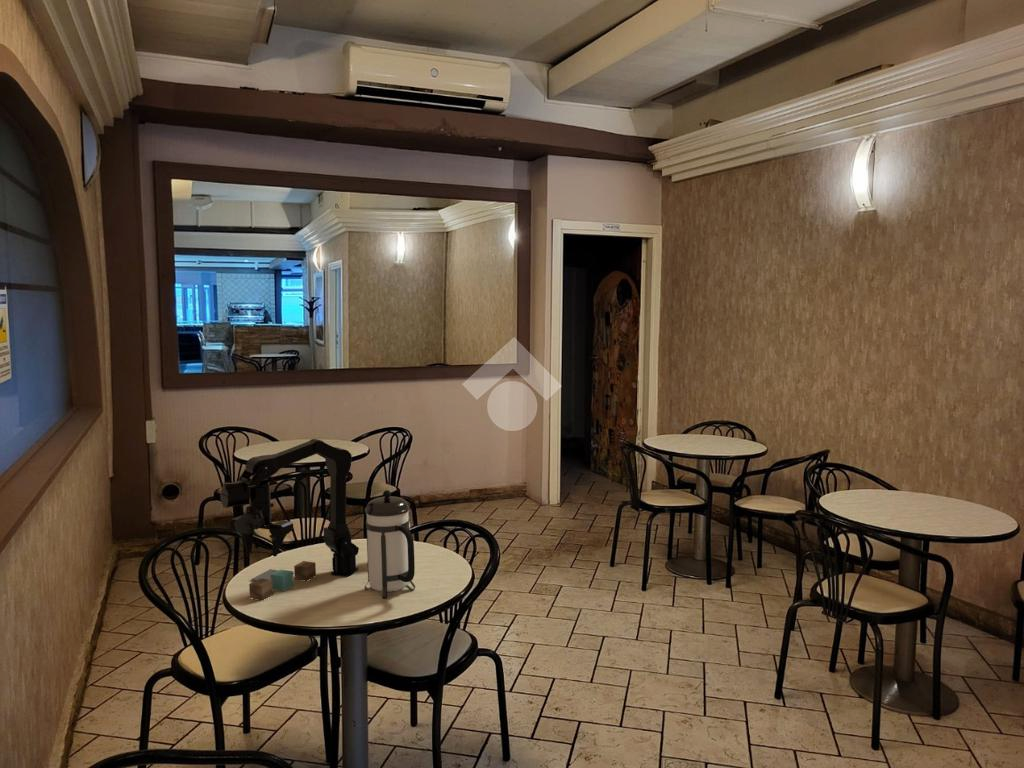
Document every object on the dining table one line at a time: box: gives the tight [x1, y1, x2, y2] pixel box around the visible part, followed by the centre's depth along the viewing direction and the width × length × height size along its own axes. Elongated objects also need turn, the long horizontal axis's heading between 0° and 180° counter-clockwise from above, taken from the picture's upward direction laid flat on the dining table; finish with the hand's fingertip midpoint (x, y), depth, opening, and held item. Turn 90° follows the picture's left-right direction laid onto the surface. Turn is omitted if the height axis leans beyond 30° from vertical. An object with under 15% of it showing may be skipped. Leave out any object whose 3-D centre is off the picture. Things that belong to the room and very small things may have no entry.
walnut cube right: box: [293, 560, 317, 582], centre depth 225 cm, size 4×4×4 cm
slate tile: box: [250, 569, 295, 582], centre depth 226 cm, size 9×9×1 cm
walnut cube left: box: [248, 579, 274, 601], centre depth 211 cm, size 4×4×4 cm
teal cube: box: [271, 569, 294, 592], centre depth 218 cm, size 4×4×4 cm
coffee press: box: [364, 489, 416, 600], centre depth 213 cm, size 17×16×30 cm
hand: (262, 554), depth 211 cm, fingers open, 9 cm apart
